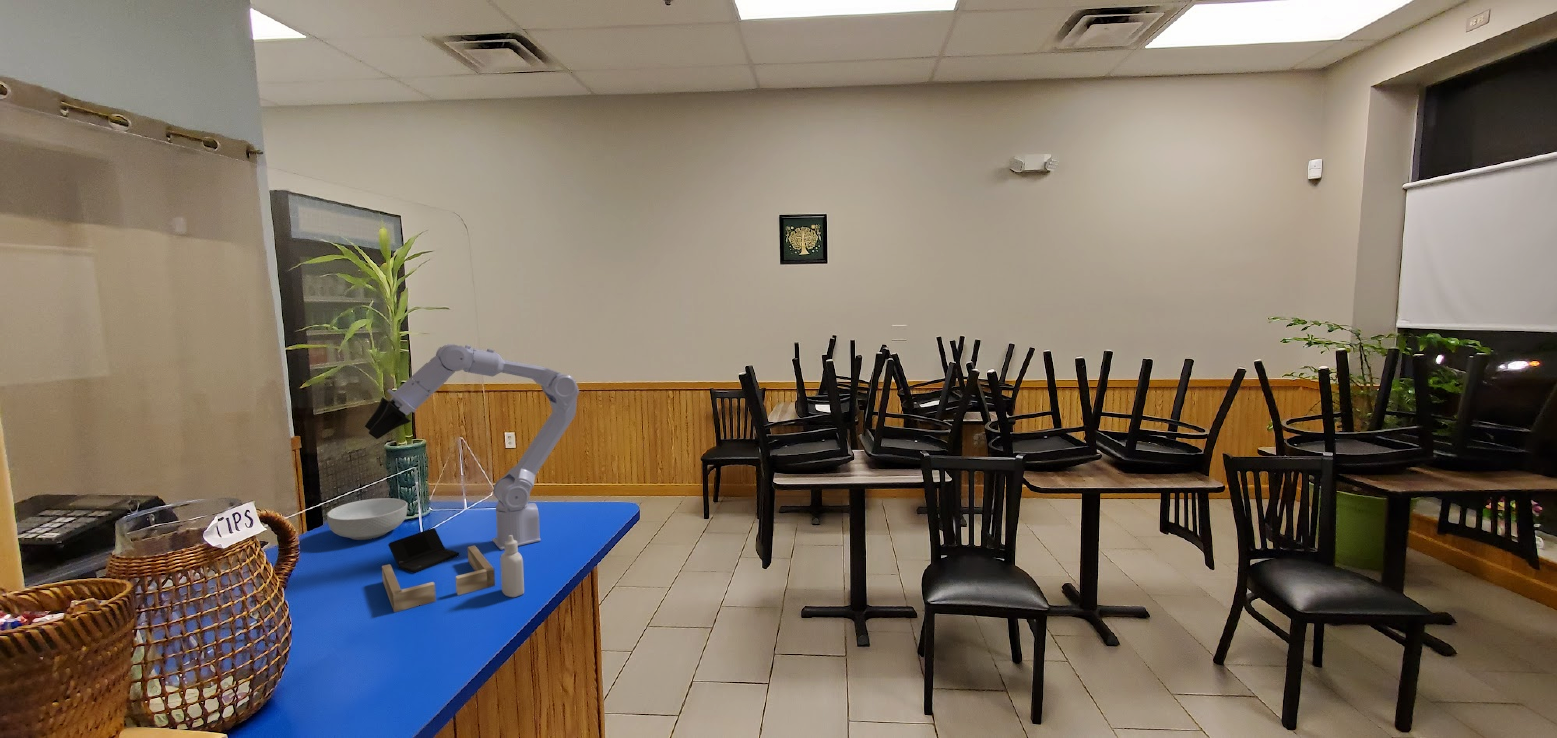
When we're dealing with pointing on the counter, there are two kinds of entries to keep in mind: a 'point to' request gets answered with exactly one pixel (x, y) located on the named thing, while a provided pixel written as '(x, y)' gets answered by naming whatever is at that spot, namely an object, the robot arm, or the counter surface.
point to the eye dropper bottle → (512, 569)
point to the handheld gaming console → (420, 551)
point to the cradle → (426, 592)
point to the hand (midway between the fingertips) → (370, 432)
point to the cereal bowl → (367, 518)
